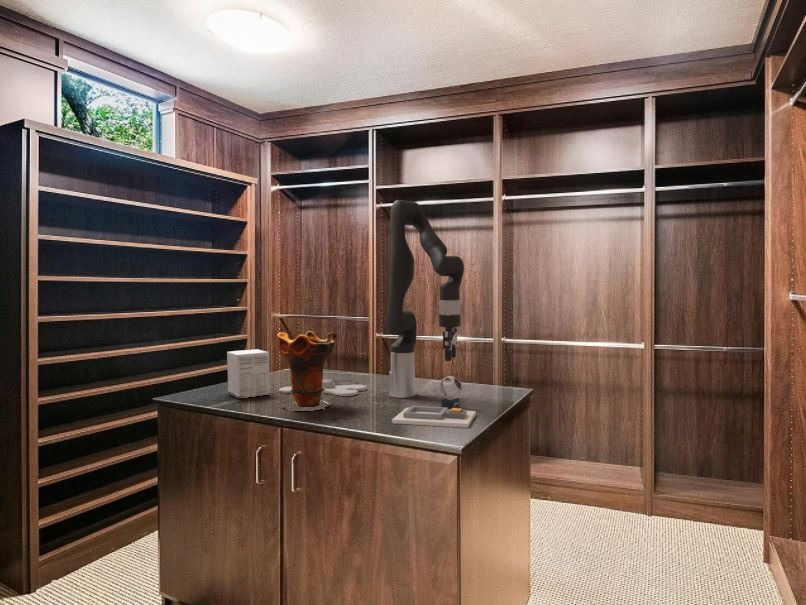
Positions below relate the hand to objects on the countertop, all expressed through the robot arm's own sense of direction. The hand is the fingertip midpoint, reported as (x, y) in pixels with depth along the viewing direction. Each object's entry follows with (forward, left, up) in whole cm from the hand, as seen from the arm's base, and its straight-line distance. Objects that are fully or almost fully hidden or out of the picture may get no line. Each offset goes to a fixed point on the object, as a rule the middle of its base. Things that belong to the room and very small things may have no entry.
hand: (450, 359), depth 197 cm
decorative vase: (-51, -9, -17) cm, 55 cm away
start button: (+5, -17, -16) cm, 24 cm away
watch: (0, 0, -17) cm, 17 cm away
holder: (-57, +19, -18) cm, 63 cm away
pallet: (-2, -17, -17) cm, 24 cm away
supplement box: (-83, +5, -17) cm, 85 cm away
